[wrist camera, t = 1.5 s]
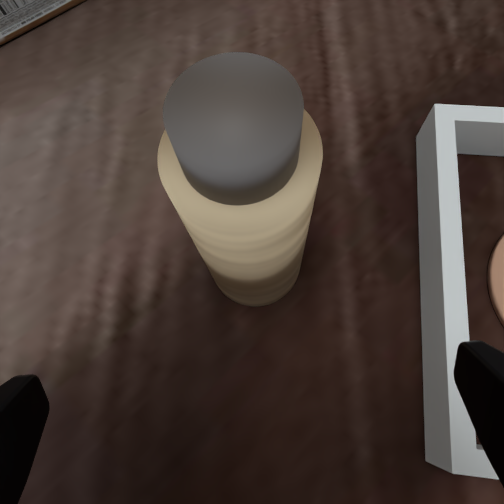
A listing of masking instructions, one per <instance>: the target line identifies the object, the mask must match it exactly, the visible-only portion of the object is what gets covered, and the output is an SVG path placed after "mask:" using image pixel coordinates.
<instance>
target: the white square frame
mask: <svg viewBox="0 0 504 504" xmlns="http://www.w3.org/2000/svg"><path fill="white" fill-rule="evenodd" d="M416 154H417V188H418V223H419V258H420V292H421V327H422V361H423V396H424V431H425V461H426V462H428V463H431V464H433V465H435V466H437V467H439V468H441V469H444V470H446V471H448V472H450V473H452V474H460V475H467V476H475V477H483V478H491V479H498V480H499V478H498V476H497V474H496V473H495V471H494V469H493V467H492V465H491V463H490V461H489V459H488V458H487V456H486V454H485V452H484V449H483V447H482V445H479V444H476V433H475V429H474V426H473V424H472V422H471V419H470V417H469V415H468V412H467V410H466V407H465V405H464V403H463V400H462V398H461V396H460V393H459V391H458V389H457V386H456V384H455V380H454V366H455V360H456V354H457V349H458V346H459V344H460V343H461V342H465V341H469V329H468V314H467V299H466V284H465V269H464V254H463V239H462V224H461V210H460V195H459V180H458V165H457V154H473V155H490V156H504V107H485V106H466V105H446V104H434V106H433V107H432V109H431V111H430V113H429V115H428V116H427V118H426V120H425V122H424V124H423V125H422V127H421V129H420V131H419V133H418V134H417V136H416ZM487 284H488V291H489V296H490V299H491V303H492V306H493V308H494V310H495V312H496V315H497V317H498V318H499V320H500V322H501V324H502V325H503V327H504V234H503V235H502V236H501V237H500V239H499V240H498V242H497V243H496V245H495V247H494V249H493V251H492V253H491V256H490V259H489V263H488V270H487Z"/></svg>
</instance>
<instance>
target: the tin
mask: <svg viewBox="0 0 504 504" xmlns="http://www.w3.org/2000/svg"><path fill="white" fill-rule="evenodd" d="M83 1H85V0H0V45H2V44H4V43H6V42H8V41H10V40H12V39H13V38H15V37H17V36H19V35H21V34H23V33H25V32H27V31H29V30H31V29H32V28H34V27H36V26H38V25H40V24H42V23H44V22H46V21H47V20H49V19H51V18H53V17H55V16H57V15H59V14H61V13H63V12H64V11H66V10H68V9H70V8H72V7H74V6H76V5H78V4H80V3H81V2H83Z"/></svg>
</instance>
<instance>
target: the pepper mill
mask: <svg viewBox="0 0 504 504" xmlns="http://www.w3.org/2000/svg"><path fill="white" fill-rule="evenodd" d="M163 121H164V126H165V131H164V133H163V135H162V138H161V141H160V145H159V150H158V170H159V175H160V178H161V181H162V184H163V186H164V188H165V190H166V192H167V194H168V196H169V198H170V199H171V201H172V203H173V205H174V207H175V209H176V210H177V212H178V214H179V216H180V218H181V220H182V221H183V223H184V225H185V227H186V229H187V231H188V233H189V234H190V236H191V238H192V240H193V242H194V244H195V245H196V247H197V249H198V251H199V253H200V255H201V257H202V258H203V260H204V262H205V264H206V266H207V268H208V269H209V271H210V273H211V275H212V277H213V279H214V281H215V282H216V284H217V286H218V287H219V289H220V290H221V291H222V292H223V294H224V295H226V296H227V297H228V298H229V299H231V300H233V301H234V302H236V303H239V304H242V305H245V306H254V307H258V306H265V305H269V304H272V303H274V302H276V301H278V300H280V299H281V298H283V297H284V296H285V295H286V294H287V293H288V292H289V291H290V290H291V289H292V288H293V286H294V284H295V283H296V280H297V278H298V275H299V271H300V266H301V262H302V257H303V252H304V247H305V242H306V238H307V233H308V228H309V223H310V219H311V214H312V209H313V204H314V199H315V195H316V190H317V185H318V180H319V175H320V171H321V165H322V158H323V149H322V142H321V137H320V134H319V131H318V129H317V127H316V125H315V123H314V121H313V120H312V118H311V117H310V115H309V114H308V113H307V112H306V111H305V110H304V102H303V96H302V93H301V90H300V87H299V85H298V84H297V82H296V80H295V79H294V77H293V76H292V75H291V74H290V73H289V72H288V71H287V70H286V69H285V68H284V67H282V66H281V65H280V64H278V63H276V62H275V61H273V60H271V59H269V58H266V57H263V56H260V55H257V54H252V53H244V52H231V53H223V54H218V55H214V56H211V57H208V58H205V59H203V60H201V61H199V62H197V63H195V64H194V65H192V66H190V67H189V68H188V69H186V70H185V71H184V72H183V73H182V74H181V75H180V76H179V77H178V78H177V79H176V80H175V81H174V83H173V84H172V86H171V87H170V89H169V91H168V93H167V95H166V98H165V102H164V107H163Z"/></svg>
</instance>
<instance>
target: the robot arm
mask: <svg viewBox="0 0 504 504" xmlns="http://www.w3.org/2000/svg"><path fill="white" fill-rule="evenodd" d="M454 380H455V384H456V386H457V389H458V391H459V393H460V396H461V398H462V400H463V403H464V405H465V407H466V410H467V412H468V415H469V417H470V419H471V422H472V424H473V426H474V429H475V431H476V433H477V436H478V438H479V441H480V443H481V445H482V447H483V449H484V452H485V454H486V456H487V458H488V459H489V461H490V463H491V465H492V467H493V469H494V471H495V473H496V474H497V476H498V478H499V480H500V482H501V483H502V485H503V487H504V352H502V351H500V350H498V349H496V348H494V347H492V346H490V345H489V344H487V343H485V342H483V341H465V342H461V343H460V344H459V346H458V349H457V354H456V360H455V366H454ZM48 414H49V401H48V398H47V396H46V394H45V391H44V389H43V387H42V384H41V382H40V379H39V378H38V377H37V376H36V375H33V374H30V375H18V376H15V377H13V378H11V379H10V380H8V381H7V382H5V383H4V384H2V385H1V386H0V504H18V502H19V499H20V497H21V495H22V492H23V490H24V487H25V485H26V482H27V479H28V476H29V473H30V470H31V467H32V464H33V461H34V458H35V455H36V452H37V448H38V445H39V442H40V439H41V436H42V433H43V430H44V426H45V423H46V420H47V417H48Z"/></svg>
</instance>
